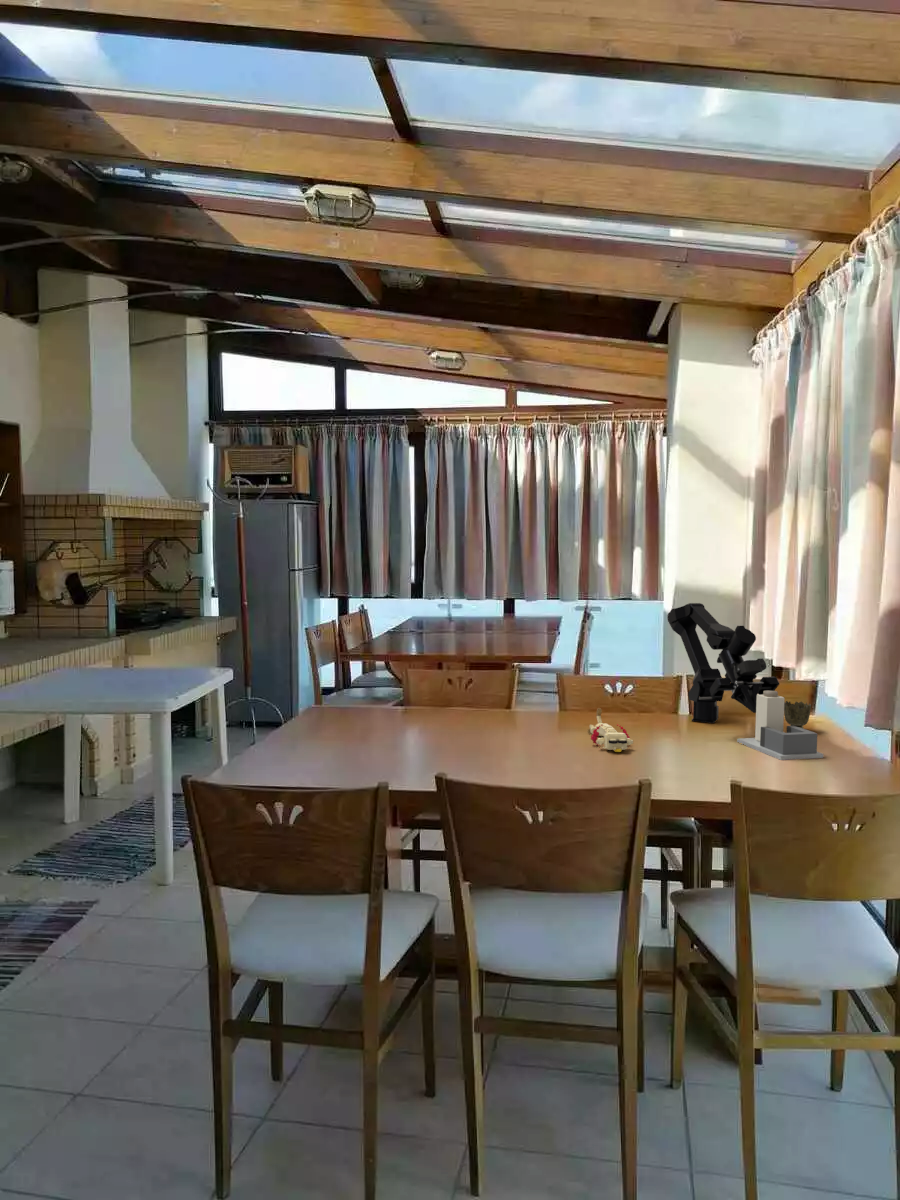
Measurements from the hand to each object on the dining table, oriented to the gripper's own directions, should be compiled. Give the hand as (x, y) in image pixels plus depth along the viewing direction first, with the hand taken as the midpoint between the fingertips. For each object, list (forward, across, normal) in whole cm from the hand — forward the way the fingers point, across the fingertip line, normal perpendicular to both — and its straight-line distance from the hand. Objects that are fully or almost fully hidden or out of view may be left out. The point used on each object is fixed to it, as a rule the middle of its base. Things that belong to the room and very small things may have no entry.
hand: (755, 711), depth 245 cm
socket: (+13, 0, -2) cm, 14 cm away
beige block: (+9, 0, 0) cm, 9 cm away
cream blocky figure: (+3, -41, +9) cm, 42 cm away
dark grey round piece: (-1, +19, +12) cm, 23 cm away
